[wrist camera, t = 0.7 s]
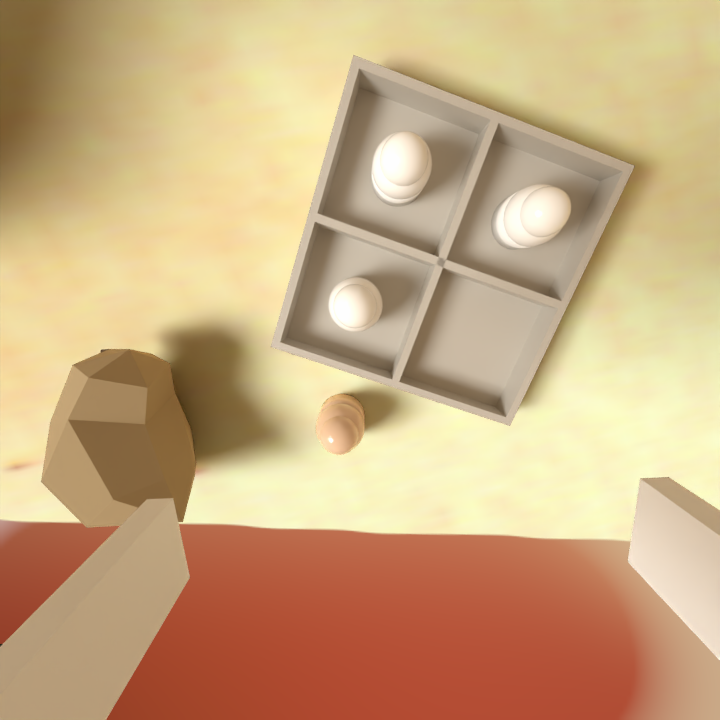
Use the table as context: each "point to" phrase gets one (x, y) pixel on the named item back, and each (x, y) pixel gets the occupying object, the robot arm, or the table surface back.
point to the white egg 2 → (400, 168)
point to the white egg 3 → (530, 216)
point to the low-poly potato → (119, 439)
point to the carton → (442, 247)
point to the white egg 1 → (355, 304)
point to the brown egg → (340, 424)
